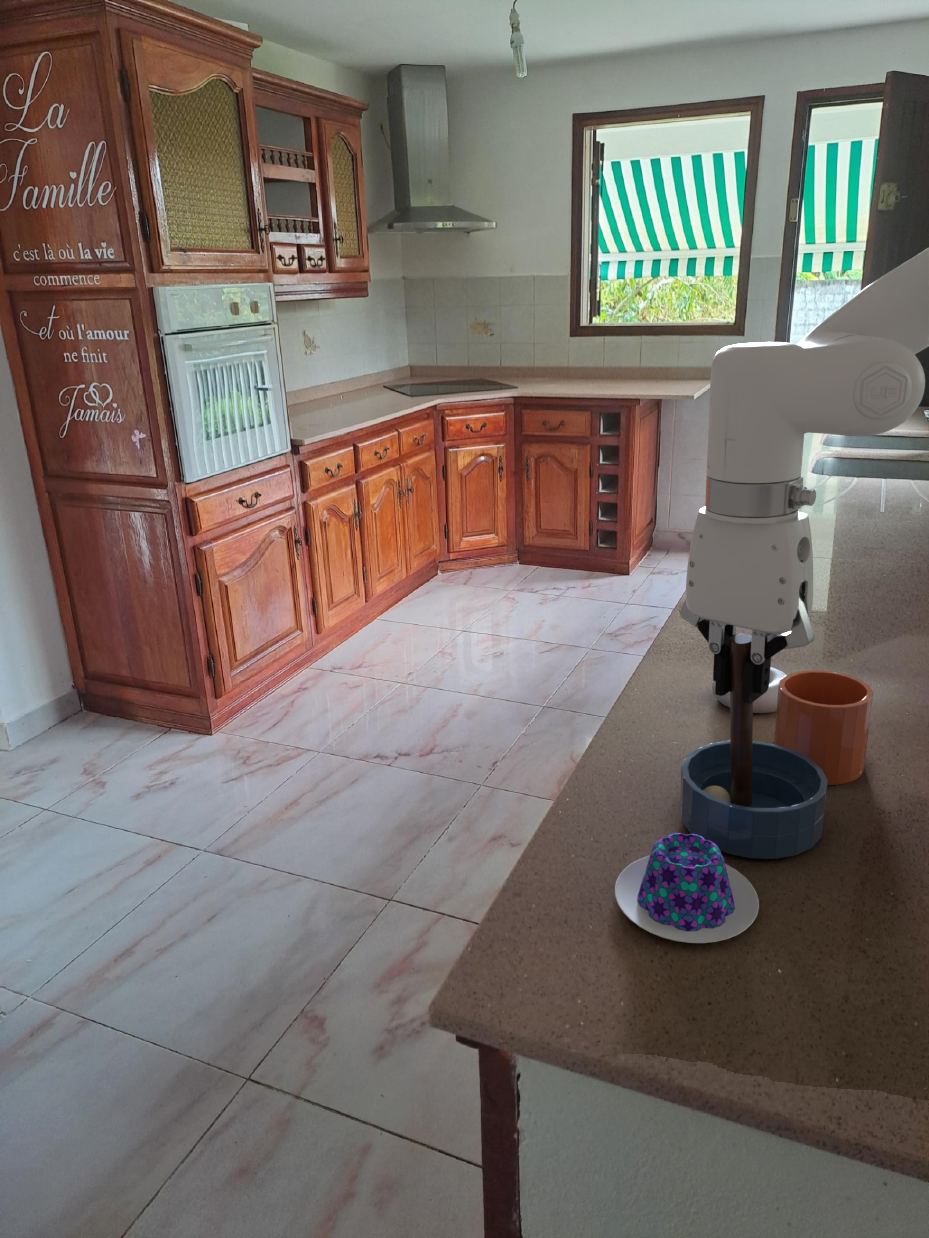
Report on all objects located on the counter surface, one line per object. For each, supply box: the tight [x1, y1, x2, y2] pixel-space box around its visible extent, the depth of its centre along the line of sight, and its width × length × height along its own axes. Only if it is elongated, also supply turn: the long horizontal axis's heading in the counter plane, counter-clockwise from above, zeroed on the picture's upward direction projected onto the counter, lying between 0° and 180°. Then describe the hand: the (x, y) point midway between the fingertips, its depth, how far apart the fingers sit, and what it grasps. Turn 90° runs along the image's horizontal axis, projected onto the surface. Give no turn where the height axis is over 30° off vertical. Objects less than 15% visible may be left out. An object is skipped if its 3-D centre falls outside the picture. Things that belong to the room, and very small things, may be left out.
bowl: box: [679, 739, 828, 860], centre depth 85 cm, size 13×13×6 cm
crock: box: [773, 669, 874, 786], centre depth 94 cm, size 9×9×9 cm
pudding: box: [614, 832, 760, 944], centre depth 75 cm, size 12×12×5 cm
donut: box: [711, 666, 787, 714], centre depth 110 cm, size 10×4×10 cm
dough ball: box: [703, 786, 731, 803], centre depth 86 cm, size 3×3×3 cm
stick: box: [729, 633, 754, 807], centre depth 82 cm, size 2×2×18 cm
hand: (739, 693), depth 80 cm, fingers closed on stick, 2 cm apart
